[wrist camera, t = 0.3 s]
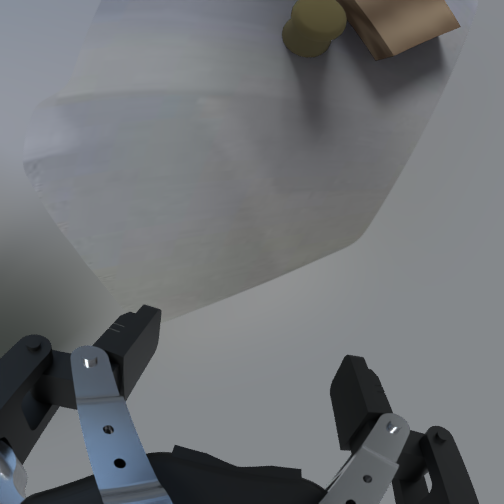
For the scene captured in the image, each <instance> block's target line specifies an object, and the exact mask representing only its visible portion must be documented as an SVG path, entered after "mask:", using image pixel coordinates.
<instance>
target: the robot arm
mask: <svg viewBox="0 0 504 504" xmlns="http://www.w3.org/2000/svg"><path fill="white" fill-rule="evenodd" d="M160 321H161V310H160V309H157V308H154V307H151V306H148V305H143V306H142V307H141V308H140V309H139V310H138V311H137V313H136V314H135V313H132V312H128V313H126V314H123V315H121V316H120V317H119V318H118V319H117V320H116V321H115V322H114V324H112V325H111V326H110V327H109V329H107V330H106V331H105V333H104V334H103V335H102V336H101V337H100V338H99V339H98V340H97V341H96V342H95V343H94V344H93V346H81V347H79V348H77V349H75V350H74V351H73V352H72V353H65V352H60V351H55V350H52V347H51V343H50V341H49V340H48V339H47V338H45V337H43V336H41V335H29V336H25V337H23V338H22V339H20V341H18V342H17V343H16V344H15V345H14V346H13V347H12V348H11V349H10V350H9V351H8V352H7V353H6V354H5V355H4V356H3V357H2V358H0V504H379V503H380V501H381V499H382V498H383V496H384V494H385V492H386V491H387V489H388V487H389V485H390V483H391V481H392V485H393V491H394V496H395V502H396V504H479V502H478V499H477V496H476V494H475V491H474V488H473V485H472V483H471V480H470V477H469V475H468V472H467V470H466V467H465V465H464V462H463V460H462V457H461V455H460V453H459V450H458V448H457V446H456V443H455V441H454V439H453V436H452V435H451V434H450V432H449V431H448V430H446V429H445V428H443V427H440V426H432V427H430V428H429V429H428V430H427V432H426V433H425V434H423V433H419V432H415V431H412V430H410V427H409V425H408V423H407V421H406V420H405V419H403V418H402V417H400V416H399V415H396V414H393V412H392V409H391V407H390V404H389V402H388V400H387V397H386V395H385V393H384V390H383V387H381V386H382V385H381V382H380V380H379V378H378V376H376V374H375V373H374V372H373V371H372V370H371V369H368V367H367V364H366V362H365V359H364V358H363V357H359V356H353V355H346V356H345V357H344V359H343V361H342V363H341V365H340V367H339V369H338V371H337V373H336V375H335V377H334V379H333V381H332V384H331V388H330V396H331V401H332V406H333V411H334V417H335V422H336V427H337V433H338V438H339V443H340V450H349V451H350V450H351V453H352V454H351V456H350V457H349V458H348V459H347V461H346V462H345V463H344V465H343V466H342V467H341V468H340V470H339V471H338V472H337V473H336V475H335V476H334V477H333V479H332V480H331V481H330V482H329V483H328V485H327V486H326V487H325V488H324V489H323V488H322V487H321V486H319V485H317V484H316V483H314V482H311V481H309V480H307V479H304V478H302V477H301V469H294V468H285V467H277V466H259V467H237V466H234V465H232V464H229V463H227V462H224V461H222V460H220V459H218V458H215V457H213V456H211V455H209V454H207V453H203V452H199V451H195V450H191V449H188V448H184V447H180V446H177V445H175V446H174V449H173V452H172V453H170V452H156V453H148V454H146V453H145V451H144V449H143V446H142V444H141V442H140V439H139V437H138V434H137V432H136V429H135V427H134V424H133V422H132V419H131V416H130V414H129V411H128V408H127V405H126V400H127V398H128V396H129V395H130V393H131V391H132V389H133V388H134V386H135V385H136V382H137V381H138V379H139V378H140V376H141V374H142V373H143V371H144V369H145V368H146V366H147V365H148V363H149V361H150V359H151V358H152V356H153V355H154V353H155V351H156V348H157V345H158V339H159V330H160ZM59 406H61V407H66V408H71V409H76V410H78V414H79V419H80V424H81V428H82V433H83V437H84V441H85V444H86V449H87V452H88V456H89V460H90V463H91V466H92V470H93V473H94V474H93V475H91V476H88V477H85V478H83V479H80V480H77V481H74V482H71V483H68V484H65V485H63V486H59V487H56V488H53V489H49V490H46V491H42V492H39V493H35V494H33V495H31V496H29V497H27V498H26V496H25V487H26V484H27V473H26V471H25V469H24V467H23V466H22V465H23V463H24V461H25V460H26V458H27V457H28V455H29V453H30V452H31V450H32V448H33V447H34V445H35V443H36V442H37V440H38V439H39V437H40V435H41V434H42V432H43V431H44V429H45V428H46V426H47V424H48V423H49V422H50V420H51V418H52V417H53V415H54V414H55V412H56V411H57V409H58V408H59ZM428 472H429V474H430V478H431V481H432V489H431V491H430V493H429V492H428V488H427V485H426V481H425V478H424V475H425V474H426V473H428Z"/></svg>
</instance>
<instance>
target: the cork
mask: <svg viewBox="0 0 504 504" xmlns="http://www.w3.org/2000/svg"><path fill="white" fill-rule="evenodd" d="M346 22H347V18H346V13H345V11H344V9H343V8H342V6H341V5H340V4H339V3H338V2H337V1H336V0H298V1H297V2H296V3H295V5H294V6H293V8H292V13H291V19H290V20H289V21H287V23H286V24H285V26H284V27H283V31H282V38H283V42H284V43H285V45H286V47H287V48H288V49H289V50H290V51H291V52H292V53H294V54H296V55H298V56H302V57H306V58H308V57H316V56H319V55H321V54H322V53H324V52H325V51H326V50H327V49H328V47H329V45H330V43H331V40H333V39H335V38H337V37H338V36H339V35H341V34H342V33H343V31H344V29H345V28H346Z"/></svg>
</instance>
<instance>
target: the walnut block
mask: <svg viewBox="0 0 504 504" xmlns="http://www.w3.org/2000/svg"><path fill="white" fill-rule="evenodd" d="M336 1H337V2H338V3H339V4H340V5H341V6H342V8H343V9H344V11H345V13H346V18H347V20H348V22H349V23H350V24H351V26H352V27H353V28H354V30H355V31H356V32H357V34H358V35H359V37H360V38H361V39H362V41H363V42H364V44H365V45H366V47H367V48H368V50H369V51H370V53H371V54H372V56H373V57H374V59H375V60H376V61H377V60H380V59H384V58H388V57H392V56H395V55H397V54H399V53H401V52H403V51H405V50H408V49H410V48H412V47H414V46H416V45H418V44H421V43H423V42H425V41H428V40H430V39H432V38H434V37H437V36H439V35H442V34H444V33H447V32H449V31H452V30H454V29H457V28H459V27H460V25H459V23H458V21H457V20H456V18H455V16H454V15H453V13H452V11H451V10H450V8H449V7H448V5H447V4H446V2H445V1H444V0H336Z"/></svg>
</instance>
